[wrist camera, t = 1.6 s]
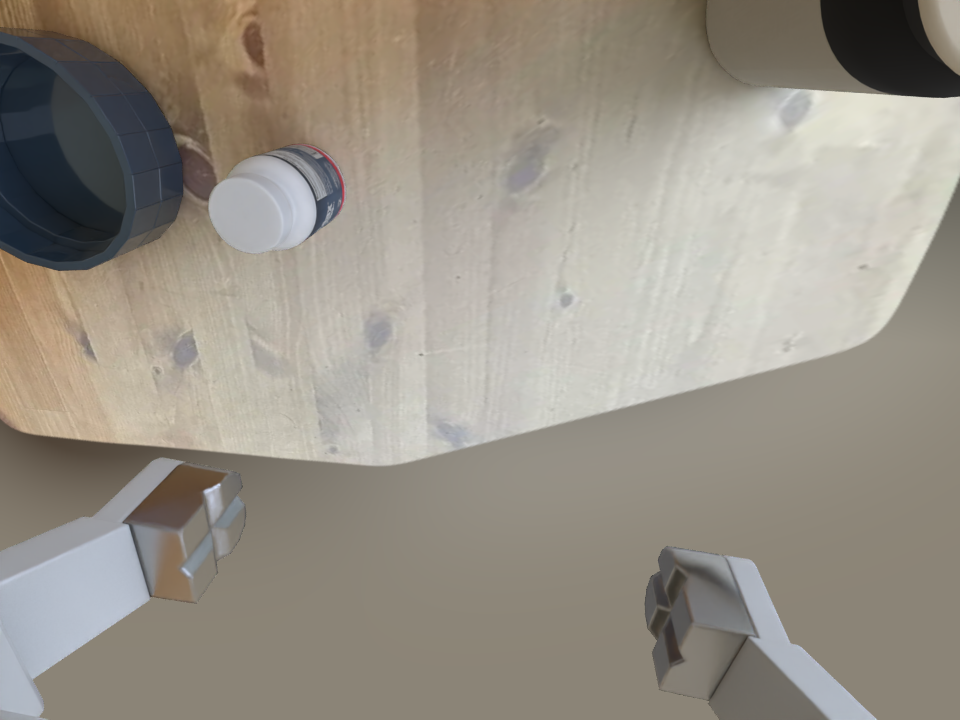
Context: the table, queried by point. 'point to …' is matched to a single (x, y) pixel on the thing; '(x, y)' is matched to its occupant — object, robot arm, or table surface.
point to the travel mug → (840, 44)
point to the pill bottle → (277, 199)
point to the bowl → (79, 154)
